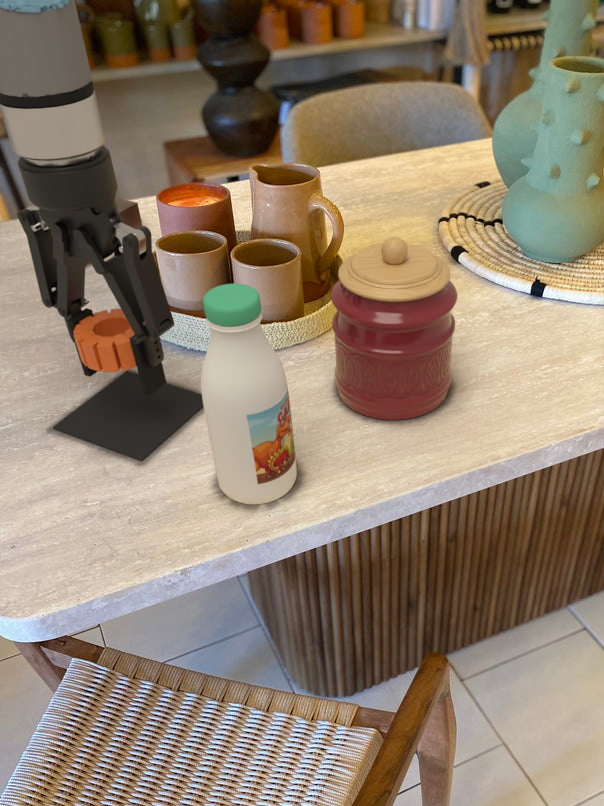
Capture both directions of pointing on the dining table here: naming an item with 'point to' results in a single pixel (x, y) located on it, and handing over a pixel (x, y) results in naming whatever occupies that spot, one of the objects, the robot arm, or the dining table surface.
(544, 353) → the dining table surface
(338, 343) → the kitchen canister
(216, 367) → the milk bottle
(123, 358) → the orange gear
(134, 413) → the mat
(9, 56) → the robot arm
